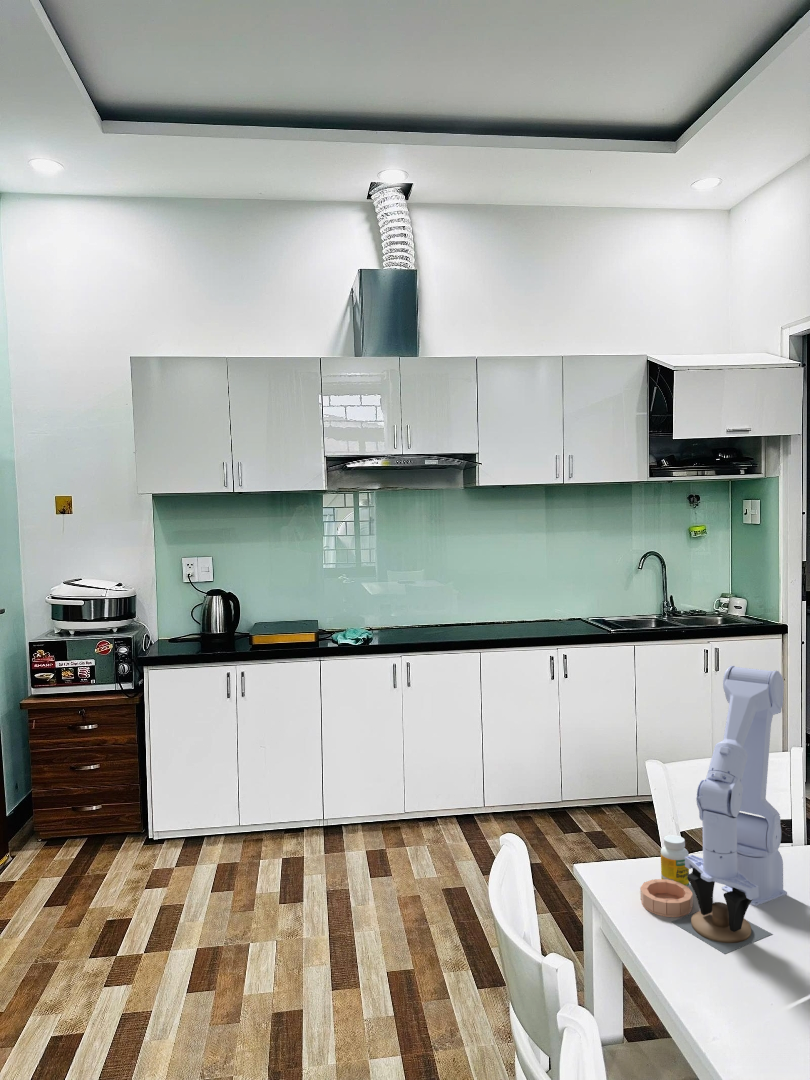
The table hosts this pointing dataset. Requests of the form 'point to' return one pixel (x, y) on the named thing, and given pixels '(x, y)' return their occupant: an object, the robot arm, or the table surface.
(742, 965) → the table surface
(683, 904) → the bowl
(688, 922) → the mat
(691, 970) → the table surface
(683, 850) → the supplement bottle
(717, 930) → the lid
